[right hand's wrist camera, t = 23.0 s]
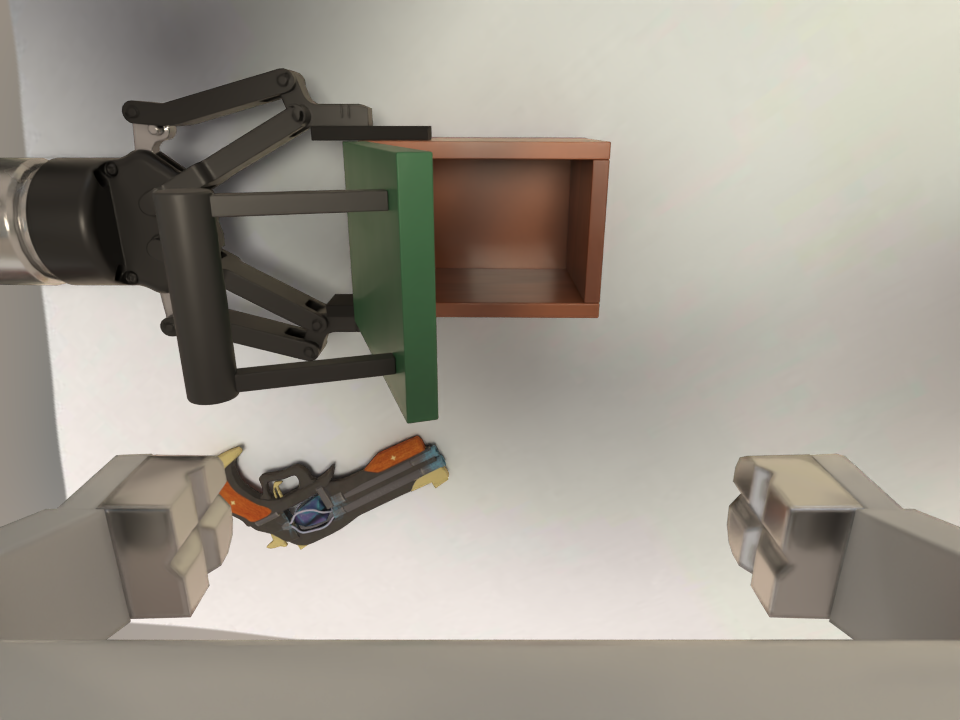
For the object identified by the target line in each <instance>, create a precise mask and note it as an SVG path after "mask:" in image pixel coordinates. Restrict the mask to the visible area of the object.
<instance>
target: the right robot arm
mask: <svg viewBox="0 0 960 720" xmlns="http://www.w3.org/2000/svg"><path fill="white" fill-rule="evenodd" d="M226 482H227V479H226V474H225V469H224V464H223V462H222V460H221V459H220V458H219V457H218V456H206V455H153V454H129V455H116V456H115V457H114V458H113V459H112V460H111V461H109V462H108V463H107V464H106V465H105V466H104V467H103V468H102V469H100V470H99V471H98V472H97V473H96V474H95V475H94V476H93V477H92V478H90V479H89V480H88V481H87V482H86V483H85V484H84V485H83V486H82V487H80V488H79V489H78V490H77V491H76V492H75V493H74V494H73V495H71V496H70V497H69V498H68V499H67V500H66V501H65V502H64V503H63V504H62V505H60V506H59V507H58V508H57V509H45V510H42V511H40V512H37V513H35V514H32V515H30V516H27V517H25V518H22V519H19V520H17V521H15V522H12V523H10V524H7V525H4V526H2V527H0V720H960V527H958V526H955V525H953V524H950V523H948V522H945V521H943V520H940V519H938V518H935V517H933V516H930V515H928V514H925V513H923V512H920V511H918V510H915V509H903V508H902V507H901V506H900V505H899V504H897V503H896V502H895V501H894V500H893V499H892V498H891V497H890V496H889V495H887V494H886V493H885V492H884V491H883V490H882V489H881V488H880V487H879V486H877V485H876V484H875V483H874V482H873V481H872V480H871V479H870V478H869V477H867V476H866V475H865V474H864V473H863V472H862V471H861V470H860V469H859V468H857V467H856V466H855V465H854V464H853V463H852V462H851V461H850V460H849V459H847V458H846V457H845V456H843V455H839V454H819V455H810V454H805V455H763V456H744V457H740V458H739V460H738V463H737V465H736V467H735V473H734V479H733V482H734V483H735V485H736V486H737V488H738V490H739V491H740V493H741V494H740V495H739V496H738V497H737V498H736V499H735V500H734V501H733V502H732V503H731V504H730V506H729V511H728V520H727V530H728V541H729V545H730V548H731V551H732V554H733V556H734V558H735V559H736V561H737V563H738V565H739V566H741V567H742V568H744V569H745V570H747V571H749V572H750V573H752V580H751V587H752V589H753V590H754V592H755V594H756V595H757V597H758V599H759V600H760V602H761V604H762V605H763V607H764V609H765V610H766V612H767V614H768V615H769V617H778V618H815V619H830V620H829V622H831V623H832V624H833V625H835V626H836V627H837V628H839V629H840V630H841V631H843V632H844V633H845V634H847V635H848V636H850V637H851V638H852V639H854V640H107V639H108V638H109V637H111V636H112V635H113V634H115V633H116V632H117V631H119V630H120V629H121V628H123V627H124V626H126V625H127V624H128V623H130V621H131V620H130V619H144V618H180V617H191V616H192V614H193V612H194V611H195V609H196V607H197V606H198V604H199V602H200V600H201V599H202V597H203V595H204V594H205V592H206V590H207V589H208V587H209V580H208V573H210V572H211V571H213V570H215V569H216V568H218V567H219V566H221V565H222V563H223V561H224V559H225V558H226V556H227V554H228V551H229V547H230V543H231V539H232V535H233V517H232V510H231V506H230V504H229V503H228V502H227V501H226V500H225V499H224V498H223V497H222V496H221V495H220V494H219V493H220V491H221V490H222V488H223V487H224V485H225V483H226Z"/></svg>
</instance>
